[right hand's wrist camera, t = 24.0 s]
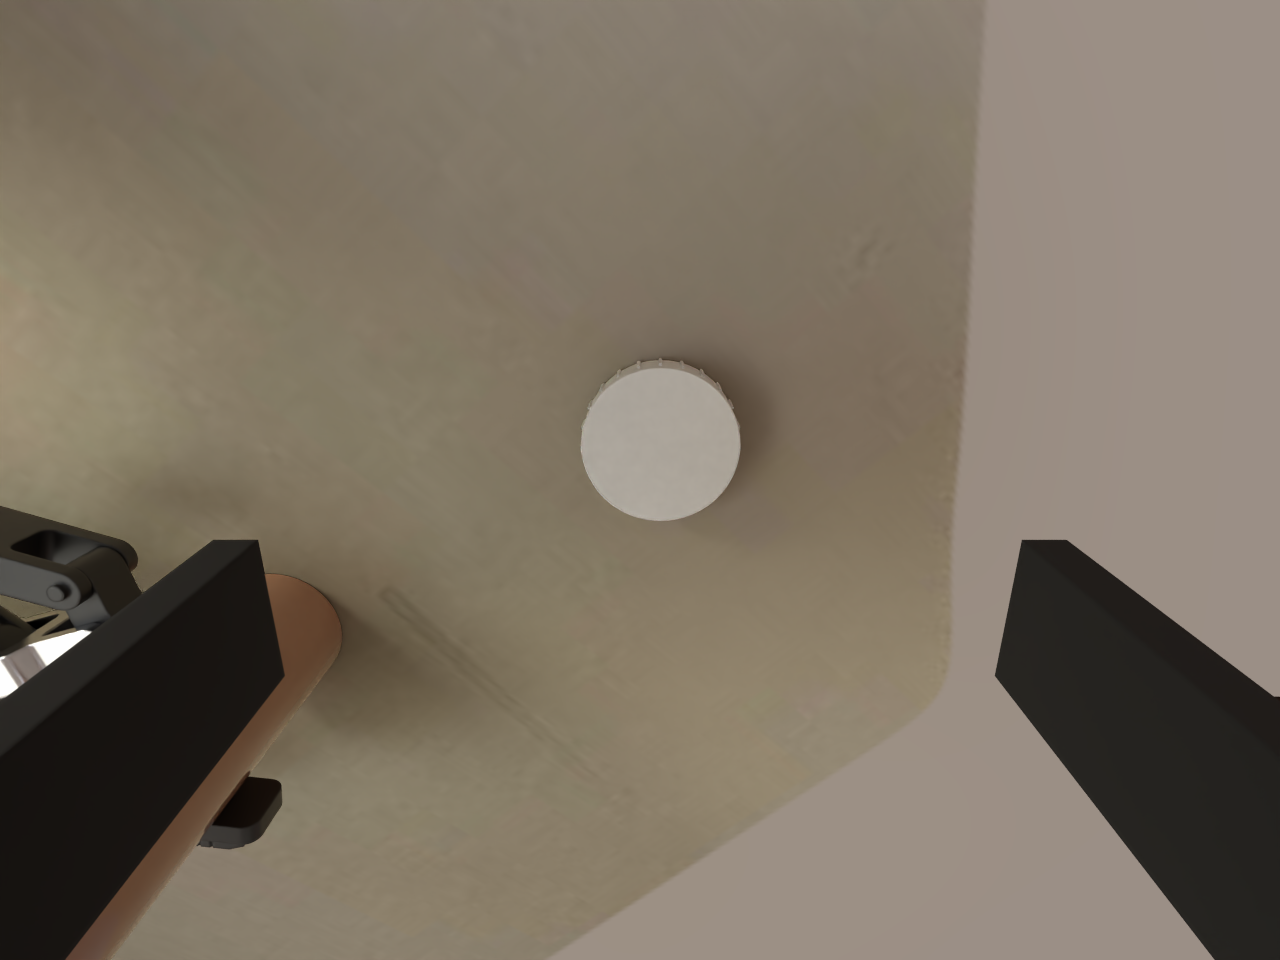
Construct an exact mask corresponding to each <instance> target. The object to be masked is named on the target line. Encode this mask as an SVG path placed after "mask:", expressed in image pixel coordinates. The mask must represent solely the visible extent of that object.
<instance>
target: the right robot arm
mask: <svg viewBox="0 0 1280 960" xmlns="http://www.w3.org/2000/svg"><path fill="white" fill-rule="evenodd" d="M995 676H996V678H997V679H998V680H999V682H1000V683H1001V684H1002V686H1003V687H1004V688H1005V689H1006V691H1007V692H1008V693H1009V695H1010V696H1011V697H1012V699H1013V700H1014V701H1015V702H1016V703H1017V705H1018V706H1019V708H1020V709H1021V710H1022V711H1023V713H1024V714H1025V715H1026V717H1027V718H1028V719H1029V720H1030V722H1031V723H1032V724H1033V726H1034V727H1035V728H1036V729H1037V731H1038V732H1039V733H1040V735H1041V736H1042V737H1043V739H1044V740H1045V741H1046V742H1047V744H1048V745H1049V746H1050V748H1051V749H1052V750H1053V751H1054V753H1055V754H1056V755H1057V757H1058V758H1059V759H1060V761H1061V762H1062V763H1063V764H1064V766H1065V767H1066V768H1067V770H1068V771H1069V772H1070V773H1071V775H1072V776H1073V777H1074V779H1075V780H1076V781H1077V782H1078V784H1079V785H1080V786H1081V788H1082V789H1083V790H1084V792H1085V793H1086V794H1087V795H1088V797H1089V798H1090V799H1091V800H1092V802H1093V803H1094V804H1095V806H1096V807H1097V808H1098V810H1099V811H1100V812H1101V813H1102V815H1103V816H1104V817H1105V819H1106V820H1107V821H1108V822H1109V824H1110V825H1111V826H1112V828H1113V829H1114V830H1115V831H1116V833H1117V834H1118V835H1119V837H1120V838H1121V839H1122V841H1123V842H1124V843H1125V844H1126V846H1127V847H1128V848H1129V850H1130V851H1131V852H1132V854H1133V855H1134V856H1135V857H1136V859H1137V860H1138V861H1139V863H1140V864H1141V865H1142V866H1143V868H1144V869H1145V870H1146V872H1147V873H1148V874H1149V875H1150V877H1151V878H1152V879H1153V881H1154V882H1155V883H1156V885H1157V886H1158V887H1159V888H1160V890H1161V891H1162V892H1163V894H1164V895H1165V896H1166V897H1167V899H1168V900H1169V901H1170V903H1171V904H1172V905H1173V907H1174V908H1175V909H1176V910H1177V912H1178V913H1179V914H1180V916H1181V917H1182V918H1183V919H1184V921H1185V922H1186V923H1187V925H1188V926H1189V927H1190V928H1191V930H1192V931H1193V932H1194V934H1195V935H1196V936H1197V937H1198V939H1199V940H1200V941H1201V943H1202V944H1203V945H1204V947H1205V948H1206V949H1207V950H1208V952H1209V953H1210V954H1211V956H1212V957H1213V958H1214V959H1215V960H1280V697H1274V696H1272V695H1271V694H1270V693H1268V692H1267V691H1266V690H1264V689H1263V688H1262V687H1260V686H1259V685H1258V684H1256V683H1255V682H1254V681H1252V680H1251V679H1250V678H1248V677H1247V676H1246V675H1244V674H1243V673H1242V672H1240V671H1239V670H1238V669H1237V668H1235V667H1234V666H1232V665H1231V664H1230V663H1229V662H1227V661H1226V660H1225V659H1223V658H1222V657H1221V656H1219V655H1218V654H1217V653H1215V652H1214V651H1213V650H1211V649H1210V648H1209V647H1207V646H1206V645H1205V644H1203V643H1202V642H1201V641H1200V640H1198V639H1197V638H1196V637H1194V636H1193V635H1192V634H1190V633H1189V632H1188V631H1186V630H1185V629H1184V628H1182V627H1181V626H1180V625H1178V624H1177V623H1176V622H1174V621H1173V620H1172V619H1170V618H1169V617H1168V616H1166V615H1165V614H1164V613H1162V612H1161V611H1160V610H1159V609H1157V608H1156V607H1155V606H1153V605H1152V604H1151V603H1149V602H1148V601H1147V600H1145V599H1144V598H1143V597H1141V596H1140V595H1139V594H1137V593H1136V592H1135V591H1133V590H1132V589H1131V588H1129V587H1128V586H1127V585H1125V584H1124V583H1123V582H1122V581H1120V580H1119V579H1118V578H1116V577H1115V576H1114V575H1112V574H1111V573H1110V572H1108V571H1107V570H1106V569H1104V568H1103V567H1102V566H1100V565H1099V564H1098V563H1096V562H1095V561H1094V560H1092V559H1091V558H1090V557H1088V556H1087V555H1086V554H1084V553H1083V552H1082V551H1081V550H1079V549H1078V548H1077V547H1075V546H1074V545H1073V544H1071V543H1070V542H1069V541H1067V540H1022V543H1021V548H1020V553H1019V558H1018V563H1017V568H1016V573H1015V578H1014V583H1013V588H1012V593H1011V598H1010V603H1009V608H1008V613H1007V618H1006V623H1005V628H1004V633H1003V638H1002V643H1001V648H1000V653H999V658H998V663H997V668H996V673H995ZM284 677H285V673H284V668H283V663H282V658H281V653H280V648H279V643H278V638H277V633H276V628H275V623H274V618H273V613H272V608H271V603H270V598H269V593H268V588H267V583H266V578H265V573H264V568H263V563H262V558H261V553H260V548H259V543H258V540H213V541H211V542H210V543H209V544H207V545H206V546H205V547H203V548H202V549H201V550H199V551H198V552H197V553H195V554H194V555H193V556H192V557H190V558H189V559H188V560H186V561H185V562H184V563H182V564H181V565H180V566H178V567H177V568H176V569H174V570H173V571H172V572H170V573H169V574H168V575H166V576H165V577H164V578H162V579H161V580H160V581H158V582H157V583H156V584H155V585H153V586H152V587H151V588H149V589H148V590H147V591H145V592H144V593H143V594H141V595H140V596H139V597H137V598H136V599H135V600H133V601H132V602H131V603H129V604H128V605H127V606H125V607H124V608H123V609H121V610H120V611H119V612H117V613H116V614H115V615H114V616H112V617H111V618H110V619H108V620H107V621H106V622H104V623H103V624H102V625H100V626H99V627H98V628H96V629H95V630H94V631H92V632H91V633H90V634H88V635H87V636H86V637H84V638H83V639H82V640H80V641H79V642H78V643H77V644H75V645H74V646H73V647H71V648H70V649H69V650H67V651H66V652H65V653H63V654H62V655H61V656H59V657H58V658H57V659H55V660H54V661H53V662H51V663H50V664H49V665H47V666H46V667H45V668H43V669H42V670H41V671H40V672H38V673H37V674H36V675H34V676H33V677H32V678H30V679H29V680H28V681H26V682H25V683H24V684H22V685H21V686H20V687H18V688H17V689H16V690H14V691H13V692H12V693H10V694H9V695H8V696H6V697H5V698H4V699H1V700H0V960H65V959H66V958H67V957H68V956H69V954H70V953H71V952H72V950H73V949H74V948H75V947H76V945H77V944H78V943H79V941H80V940H81V939H82V938H83V936H84V935H85V934H86V932H87V931H88V930H89V928H90V927H91V926H92V925H93V923H94V922H95V921H96V919H97V918H98V917H99V916H100V914H101V913H102V912H103V910H104V909H105V908H106V907H107V905H108V904H109V903H110V901H111V900H112V899H113V897H114V896H115V895H116V894H117V892H118V891H119V890H120V888H121V887H122V886H123V885H124V883H125V882H126V881H127V879H128V878H129V877H130V875H131V874H132V873H133V872H134V870H135V869H136V868H137V866H138V865H139V864H140V863H141V861H142V860H143V859H144V857H145V856H146V855H147V854H148V852H149V851H150V850H151V848H152V847H153V846H154V844H155V843H156V842H157V841H158V839H159V838H160V837H161V835H162V834H163V833H164V832H165V830H166V829H167V828H168V826H169V825H170V824H171V823H172V821H173V820H174V819H175V817H176V816H177V815H178V813H179V812H180V811H181V810H182V808H183V807H184V806H185V804H186V803H187V802H188V801H189V799H190V798H191V797H192V795H193V794H194V793H195V792H196V790H197V789H198V788H199V786H200V785H201V784H202V782H203V781H204V780H205V779H206V777H207V776H208V775H209V773H210V772H211V771H212V770H213V768H214V767H215V766H216V764H217V763H218V762H219V761H220V759H221V758H222V757H223V755H224V754H225V753H226V751H227V750H228V749H229V748H230V746H231V745H232V744H233V742H234V741H235V740H236V739H237V737H238V736H239V735H240V733H241V732H242V731H243V730H244V728H245V727H246V726H247V724H248V723H249V722H250V720H251V719H252V718H253V717H254V715H255V714H256V713H257V711H258V710H259V709H260V708H261V706H262V705H263V704H264V702H265V701H266V700H267V698H268V697H269V696H270V695H271V693H272V692H273V691H274V689H275V688H276V687H277V686H278V684H279V683H280V682H281V680H282V679H283V678H284Z"/></svg>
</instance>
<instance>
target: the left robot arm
mask: <svg viewBox="0 0 1280 960" xmlns="http://www.w3.org/2000/svg"><path fill="white" fill-rule="evenodd" d="M137 563H138V557H137V554H136V552H135V550H134V549H133V548H132V546H130V545H129V544H128V543H127V542H125V541H122V540H120V539H116V538H113V537H109V536H105V535H102V534H98V533H95V532H91V531H88V530H84V529H80V528H77V527H73V526H70V525H66V524H63V523H59V522H56V521H52V520H48V519H45V518H41V517H38V516H34V515H31V514H27V513H23V512H20V511H16V510H13V509H9V508H6V507H2V506H0V594H1V595H5V596H8V597H12V598H16V599H19V600H23V601H27V602H31V603H34V604H38V605H42V606H45V607H49V608H53V609H56V610H53V611H50V612H46V613H42V614H39V615H35V616H31V617H28V618H24V617H20V618H19V617H17V616H16V615H14V614H13V613H11V612H10V611H8V610H7V609H5V608H4V607H2V606H1V605H0V700H1V699H4V698H5V697H6V696H8V695H9V694H10V693H12V692H13V691H14V690H16V689H17V688H18V687H20V686H21V685H22V684H24V683H25V682H26V681H28V680H29V679H30V678H32V677H33V676H34V675H36V674H37V673H38V672H40V671H41V670H42V669H43V668H45V667H46V666H47V665H49V664H50V663H51V662H53V661H54V660H55V659H57V658H58V657H59V656H61V655H62V654H63V653H65V652H66V651H67V650H69V649H70V648H71V647H73V646H74V645H75V644H77V643H78V642H79V641H80V640H82V639H83V638H84V637H86V636H87V635H88V634H90V633H91V632H92V631H94V630H95V629H96V628H98V627H99V626H100V625H102V624H103V623H104V622H106V621H107V620H108V619H110V618H111V617H112V616H114V615H115V614H116V613H117V612H119V611H120V610H121V609H123V608H124V607H125V606H127V605H128V604H129V603H131V602H132V601H133V600H135V599H136V598H137V597H139V596H140V595H141V594H143V593H144V592H141V591H140V589H139V588H138V586H137V584H136V582H135V580H134V578H133V576H132V574H131V571H133V570H134V569H135V568H136V566H137ZM281 805H282V787H281V783H280V782H279V781H277V780H274V779H266V778H256V777H247V778H246V780H245V781H244V782H243V784H242V785H241V786H240V788H239V789H238V790H237V792H236V793H235V794H234V796H233V797H232V798H231V800H230V801H229V803H228V804H227V805H226V807H225V808H224V809H223V811H222V812H221V813H220V815H219V816H218V817H217V819H216V820H215V821H214V823H213V824H212V825H211V827H210V828H209V829H208V831H207V832H206V833H205V835H204V836H203V837H202V839H201V840H200V841H199V843H198V844H197V845H196V846H198V845H201V846H202V847H211V846H213V848H221V849H233V848H238V847H243V846H245V844H249V843H252V842H254V841H256V840H257V839H259V838H260V837H261V836H262V835H263V833H264V832H265V830H266V829H267V827H268V826H269V824H270V822H271V821H272V819H273V818H274V816H275V815H276V813H277V812H278V810H279V809H280V807H281Z"/></svg>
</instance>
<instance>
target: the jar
mask: <svg viewBox="0 0 1280 960" xmlns="http://www.w3.org/2000/svg"><path fill="white" fill-rule="evenodd" d="M265 578H266V583H267V588H268V593H269V598H270V603H271V608H272V613H273V618H274V623H275V628H276V633H277V638H278V643H279V648H280V653H281V658H282V663H283V668H284V673H285V677H284V678H283V679H282V680H281V682H280V683H279V684H278V686H277V687H276V688H275V689H274V691H273V692H272V693H271V695H270V696H269V697H268V698H267V700H266V701H265V702H264V704H263V705H262V706H261V708H260V709H259V710H258V711H257V713H256V714H255V715H254V717H253V718H252V719H251V720H250V722H249V723H248V724H247V726H246V727H245V728H244V730H243V731H242V732H241V733H240V735H239V736H238V737H237V739H236V740H235V741H234V742H233V744H232V745H231V746H230V748H229V749H228V750H227V751H226V753H225V754H224V755H223V757H222V758H221V759H220V761H219V762H218V763H217V764H216V766H215V767H214V768H213V770H212V771H211V772H210V773H209V775H208V776H207V777H206V779H205V780H204V781H203V782H202V784H201V785H200V786H199V788H198V789H197V790H196V792H195V793H194V794H193V795H192V797H191V798H190V799H189V801H188V802H187V803H186V804H185V806H184V807H183V808H182V810H181V811H180V812H179V813H178V815H177V816H176V817H175V819H174V820H173V821H172V823H171V824H170V825H169V826H168V828H167V829H166V830H165V832H164V833H163V834H162V835H161V837H160V838H159V839H158V841H157V842H156V843H155V844H154V846H153V847H152V848H151V850H150V851H149V852H148V854H147V855H146V856H145V857H144V859H143V860H142V861H141V863H140V864H139V865H138V866H137V868H136V869H135V870H134V872H133V873H132V874H131V875H130V877H129V878H128V879H127V881H126V882H125V883H124V885H123V886H122V887H121V888H120V890H119V891H118V892H117V894H116V895H115V896H114V897H113V899H112V900H111V901H110V903H109V904H108V905H107V907H106V908H105V909H104V910H103V912H102V913H101V914H100V916H99V917H98V918H97V919H96V921H95V922H94V923H93V925H92V926H91V927H90V928H89V930H88V931H87V932H86V934H85V935H84V936H83V938H82V939H81V940H80V941H79V943H78V944H77V945H76V947H75V948H74V949H73V950H72V952H71V953H70V954H69V956H68V957H67V958H66V959H65V960H111V959H112V958H113V956H114V955H115V954H116V952H117V951H118V950H119V948H120V947H121V946H122V944H123V943H124V942H125V940H126V939H127V938H128V936H129V935H130V934H131V932H132V931H133V930H134V928H135V927H136V926H137V924H138V923H139V921H140V920H141V919H142V917H143V916H144V915H145V913H146V912H147V911H148V909H149V908H150V907H151V905H152V904H153V903H154V901H155V900H156V899H157V897H158V896H159V895H160V893H161V892H162V891H163V889H164V888H165V887H166V885H167V884H168V883H169V881H170V880H171V879H172V877H173V876H174V875H175V873H176V872H177V871H178V869H179V868H180V867H181V865H182V864H183V863H184V861H185V860H186V859H187V857H188V856H189V855H190V853H191V852H192V851H193V849H194V848H195V847H196V845H197V844H198V843H199V841H200V840H201V839H202V837H203V836H204V835H205V833H206V832H207V831H208V829H209V828H210V827H211V825H212V824H213V823H214V821H215V820H216V819H217V817H218V816H219V815H220V813H221V812H222V811H223V809H224V808H225V807H226V805H227V804H228V803H229V801H230V800H231V798H232V797H233V796H234V794H235V793H236V792H237V790H238V789H239V788H240V786H241V785H242V784H243V782H244V781H245V780H246V778H247V777H248V776H249V774H250V773H251V772H252V770H253V769H254V768H255V766H256V765H257V764H258V762H259V761H260V760H261V758H262V757H263V756H264V754H265V753H266V752H267V750H268V749H269V748H270V746H271V745H272V744H273V742H274V741H275V740H276V738H277V737H278V736H279V734H280V733H281V732H282V730H283V729H284V728H285V726H286V725H287V724H288V722H289V721H290V720H291V718H292V717H293V716H294V714H295V713H296V712H297V710H298V709H299V708H300V706H301V705H302V704H303V702H304V701H305V700H306V698H307V697H308V696H309V694H310V693H311V692H312V690H313V689H314V688H315V686H316V685H317V684H318V682H319V681H320V680H321V678H322V677H323V675H324V674H325V673H326V671H327V670H328V669H329V667H330V666H331V665H332V663H333V662H334V661H335V659H336V658H337V656H338V654H339V651H340V648H341V643H342V630H341V625H340V621H339V618H338V616H337V614H336V612H335V610H334V608H333V607H332V605H331V604H330V603H329V601H328V600H327V599H326V598H325V597H324V596H323V595H322V594H321V593H320V592H319V591H318V590H316V589H315V588H314V587H312V586H310V585H309V584H307V583H305V582H303V581H301V580H299V579H296V578H293V577H290V576H286V575H279V574H265Z"/></svg>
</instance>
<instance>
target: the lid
mask: <svg viewBox="0 0 1280 960" xmlns="http://www.w3.org/2000/svg"><path fill="white" fill-rule="evenodd" d="M587 409H588V410H589V411H588V414H587V416H586V419H584V421H583V423H582V426H581V430H582V437H581V447H580V451H581V452H582V459H583V463H584V467H585V470H586V472H587V475H588V477H589V479H590V481H591V482H592V484H593V486H594V487H595V488H596V490H597V491H598V492H599V494H600V495H601V496H602V497H603V498H604V499H605V500H606V501H607V502H609V503H610V504H611V505H613V506H614V507H615V508H617V509H619V510H620V511H622V512H624V513H626V514H629V515H631V516H634V517H637V518H640V519H645V520H651V521H668V520H675V519H680V518H684V517H687V516H690V515H692V514H695V513H697V512H699V511H701V510H702V509H704V508H705V507H707V506H709V505H710V504H711V503H712V502H713V501H715V500H716V499H717V498H718V497H719V496H720V495H721V494H722V493H723V491H724V490H725V489H726V487H727V486H728V484H729V483H730V481H731V479H732V477H733V475H734V473H735V470H736V468H737V465H738V460H739V456H740V450H741V445H740V432H739V429H741V428H740V425H739V423H738V421H737V419H736V417H735V415H734V413H733V410H732V409H734V407H733V405H732V403H731V400H730V399H729V400H727V398H726V396H725V395H724V393H723V392H722V389H721V387H720V384H719V383H718V382H717V383H715V382H714V381H713V380H712V379H711V378H709V377H708V376H707V375H706V374H704V371H703V370H702V369H700V370H698V369H696V368H694V367H692V366H689V365H687V364H684V362H683V361H680V362H675V361H670V360H662V358H659V360H653V361H646V362H640V361H637V364H635V365H632V366H629V367H627V368H626V369H624V370H622V371H621V370H620V369H619V370H618V371H617V374H616V375H614V376H613V377H612V378H611V379H609V380H608V381H607V382H606V383H602V384H601V387H600V390H599V391H598V393H597V395H596V396H595V398H594V399H593V400H590V403H589V405H588V408H587Z"/></svg>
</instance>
